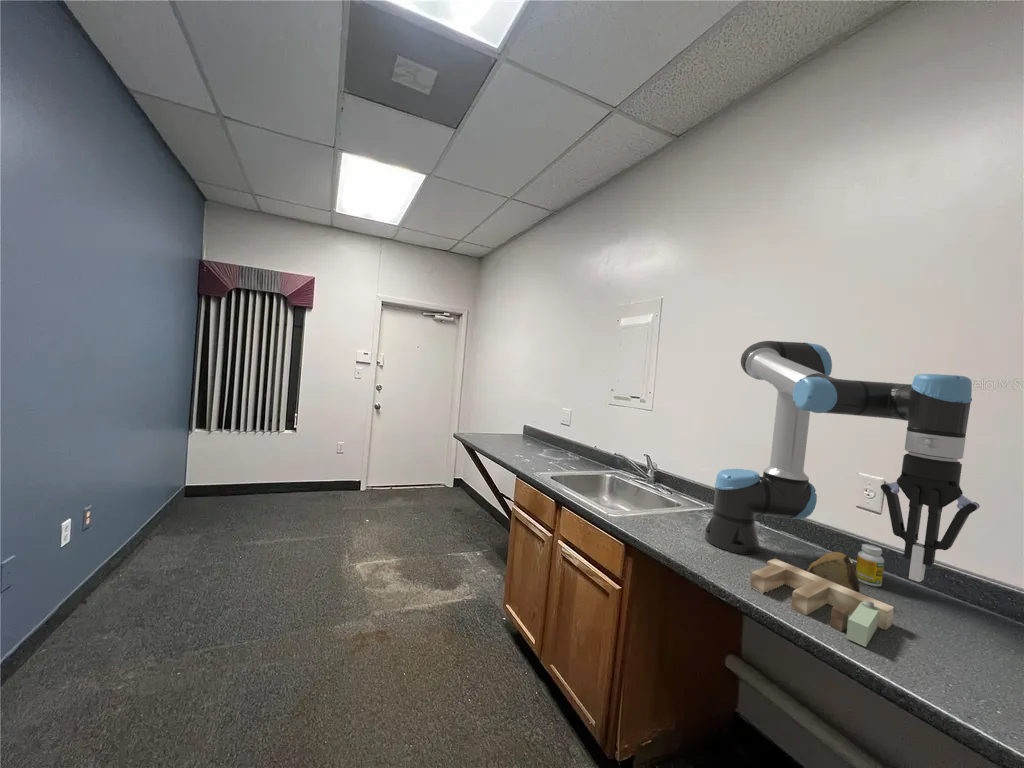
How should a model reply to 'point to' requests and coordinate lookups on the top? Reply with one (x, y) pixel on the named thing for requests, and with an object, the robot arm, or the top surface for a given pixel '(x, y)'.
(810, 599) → the stool frame
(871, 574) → the supplement bottle
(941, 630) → the top surface
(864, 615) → the hinged leg
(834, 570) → the rock
